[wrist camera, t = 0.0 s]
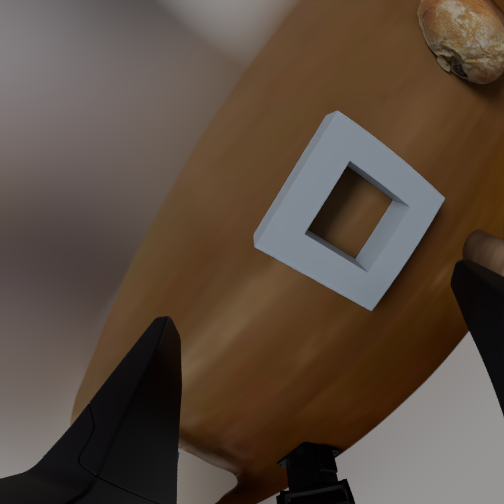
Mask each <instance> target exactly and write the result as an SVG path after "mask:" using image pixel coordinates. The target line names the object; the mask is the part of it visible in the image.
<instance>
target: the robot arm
mask: <svg viewBox="0 0 504 504" xmlns="http://www.w3.org/2000/svg"><path fill="white" fill-rule="evenodd" d="M451 288H452V290H453V293H454V295H455V297H456V300H457V302H458V304H459V307H460V309H461V312H462V315H463V317H464V320H465V322H466V325H467V327H468V329H469V331H470V333H471V335H472V337H473V339H474V341H475V344H476V346H477V348H478V350H479V353H480V355H481V357H482V359H483V362H484V364H485V367H486V369H487V372H488V374H489V376H490V379H491V382H492V384H493V387H494V390H495V392H496V395H497V398H498V401H499V404H500V407H501V410H502V412H503V416H504V276H502V275H500V274H498V273H496V272H494V271H492V270H490V269H488V268H486V267H484V266H482V265H480V264H477V263H475V262H473V261H471V260H469V259H462V260H459V261H457V262H456V264H455V267H454V271H453V274H452V278H451ZM181 395H182V371H181V340H180V335H179V333H178V331H177V329H176V327H175V325H174V323H173V321H172V319H171V318H170V317H169V316H164V317H157V318H156V319H155V320H154V321H153V322H152V323H151V324H150V326H149V327H148V328H147V329H146V331H145V332H144V333H143V334H142V336H141V337H140V338H139V339H138V341H137V342H136V343H135V344H134V346H133V347H132V348H131V349H130V351H129V352H128V353H127V354H126V356H125V357H124V358H123V359H122V361H121V362H120V363H119V365H118V366H117V367H116V368H115V370H114V371H113V372H112V374H111V375H110V376H109V377H108V379H107V380H106V381H105V383H104V384H103V385H102V386H101V388H100V389H99V390H98V392H97V393H96V394H95V396H94V397H93V398H92V400H91V401H90V404H88V405H87V406H86V407H85V409H84V410H83V411H82V413H81V414H80V415H79V416H78V418H77V419H76V420H75V421H74V423H73V424H72V425H71V426H70V428H69V429H68V430H67V431H66V432H65V433H64V434H63V436H62V437H61V438H60V439H59V440H58V441H57V442H56V443H55V445H54V446H53V447H52V448H51V449H50V450H49V451H48V452H47V453H46V455H45V456H44V457H43V458H42V459H41V460H40V461H39V462H38V463H37V464H36V465H35V466H34V467H32V468H31V469H29V470H28V471H26V472H23V473H20V474H17V475H13V476H9V477H5V478H1V479H0V504H177V503H176V502H177V463H178V442H179V424H180V408H181ZM338 453H339V450H338V449H335V448H330V447H324V446H319V445H315V444H310V443H302V444H300V445H299V446H298V447H297V448H295V449H294V450H293V451H292V452H290V453H289V454H288V455H287V456H285V457H284V458H283V459H281V460H280V461H279V462H277V466H279V467H284V468H287V477H288V485H289V491H280V495H278V496H276V499H277V504H355V501H354V498H353V495H352V492H351V490H350V487H349V484H348V481H347V479H343V480H341V481H338V478H337V474H336V473H337V466H336V462H335V458H334V456H335V455H337V454H338Z"/></svg>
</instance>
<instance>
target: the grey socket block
mask: <svg viewBox="0 0 504 504" xmlns="http://www.w3.org/2000/svg"><path fill="white" fill-rule="evenodd" d="M346 166H348V167H349V168H351V169H352V170H353V171H355V172H356V173H358V174H359V175H360V176H362V177H363V178H365V179H366V180H367V181H369V182H370V183H371V184H373V185H374V186H375V187H377V188H378V189H379V190H381V191H382V192H383V193H384V194H386V195H387V196H388V197H390V198H391V199H392V200H393V201H392V202H391V204H390V206H389V207H388V209H387V210H386V212H385V214H384V215H383V217H382V219H381V220H380V222H379V223H378V225H377V226H376V228H375V230H374V231H373V233H372V234H371V236H370V237H369V239H368V240H367V242H366V243H365V245H364V247H363V248H362V250H361V251H360V253H359V254H358V256H357V257H356V259H354V258H353V257H351V256H349V255H348V254H346V253H345V252H343V251H341V250H340V249H338V248H336V247H335V246H333V245H332V244H330V243H328V242H327V241H325V240H323V239H322V238H320V237H319V236H317V235H315V234H314V233H312V232H310V231H309V230H307V229H308V227H309V226H310V224H311V223H312V221H313V219H314V218H315V216H316V215H317V213H318V212H319V210H320V208H321V207H322V205H323V204H324V202H325V200H326V199H327V197H328V196H329V194H330V192H331V191H332V189H333V187H334V186H335V184H336V183H337V181H338V179H339V178H340V176H341V174H342V173H343V171H344V169H345V168H346ZM444 199H445V198H444V197H443V196H442V195H441V194H440V193H439V192H438V191H437V190H436V189H435V188H434V187H433V186H432V185H431V184H429V183H428V182H427V181H426V180H425V179H424V178H423V177H422V176H421V175H420V174H418V173H417V172H416V171H415V170H414V169H413V168H412V167H411V166H409V165H408V164H407V163H406V162H405V161H404V160H402V159H401V158H400V157H399V156H398V155H396V154H395V153H394V152H393V151H392V150H390V149H389V148H388V147H387V146H385V145H384V144H383V143H381V142H380V141H379V140H378V139H376V138H375V137H374V136H372V135H371V134H370V133H368V132H367V131H366V130H364V129H363V128H362V127H360V126H359V125H358V124H356V123H355V122H354V121H352V120H351V119H349V118H348V117H346V116H345V115H344V114H342V113H341V112H339V111H335V112H333V113H330V114H328V115H326V116H325V118H324V120H323V121H322V123H321V125H320V126H319V128H318V129H317V131H316V133H315V134H314V136H313V138H312V139H311V141H310V143H309V144H308V146H307V147H306V149H305V151H304V152H303V154H302V156H301V157H300V159H299V161H298V162H297V164H296V165H295V167H294V169H293V170H292V172H291V174H290V175H289V177H288V179H287V180H286V182H285V183H284V185H283V187H282V188H281V190H280V192H279V193H278V195H277V197H276V198H275V200H274V202H273V203H272V205H271V207H270V208H269V210H268V212H267V213H266V215H265V216H264V218H263V220H262V221H261V223H260V225H259V226H258V228H257V230H256V231H255V233H254V235H253V237H254V247H256V248H257V249H259V250H261V251H263V252H265V253H267V254H268V255H270V256H272V257H274V258H276V259H278V260H279V261H281V262H283V263H285V264H287V265H288V266H290V267H292V268H294V269H296V270H298V271H299V272H301V273H303V274H305V275H307V276H308V277H310V278H312V279H314V280H316V281H318V282H319V283H321V284H323V285H325V286H327V287H328V288H330V289H332V290H334V291H336V292H338V293H339V294H341V295H343V296H345V297H347V298H348V299H350V300H352V301H354V302H356V303H357V304H359V305H361V306H363V307H365V308H366V309H368V310H370V311H372V310H373V308H374V307H375V306H376V304H377V303H378V302H379V300H380V299H381V298H382V296H383V295H384V293H385V292H386V291H387V289H388V288H389V286H390V285H391V284H392V282H393V281H394V279H395V278H396V277H397V275H398V274H399V272H400V271H401V269H402V268H403V266H404V265H405V263H406V262H407V260H408V259H409V257H410V256H411V254H412V253H413V251H414V250H415V248H416V246H417V245H418V243H419V242H420V240H421V238H422V237H423V235H424V234H425V232H426V230H427V229H428V227H429V225H430V224H431V222H432V220H433V219H434V217H435V215H436V213H437V212H438V210H439V208H440V206H441V205H442V203H443V201H444Z"/></svg>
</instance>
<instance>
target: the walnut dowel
mask: <svg viewBox="0 0 504 504" xmlns="http://www.w3.org/2000/svg"><path fill="white" fill-rule="evenodd" d="M463 259H469V260H471V261H473V262H475V263H477V264H480V265H482V266H484V267H486V268H488V269H490V270H492V271H494V272H496V273H498V274H500V275H502V276H504V241H503V240H500V239H498V238H496V237H494V236H492V235H490V234H488V233H486V232H484V231H481V230H476V231H474V232H472V233H471V234H470V235H469V236H468V238H467V240H466V242H465V244H464V248H463Z"/></svg>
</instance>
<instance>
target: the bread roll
mask: <svg viewBox="0 0 504 504" xmlns="http://www.w3.org/2000/svg"><path fill="white" fill-rule="evenodd" d="M418 16H419V25H420V27H421V29H422V32H423V35H424V37H425V40H426V42H427V44H428V46H429V48H430V49H431V51H432V52H433V53H434V54H435V55H436V56H437V62H438V64H439V65H440V66H441V67H442V68H443V69H444V70H446V71H448V72H449V73H450V71H452V72H453V73H454V74H456V75H458V76H460V77H461V78H464V79H466V80H468V81H469V82H473V83H476V84H487V83H491V82H493V81H495V80H496V79H498V78H499V77H500V75H501V74H502V73H503V71H504V27H503V25H502V23H501V21H500V20H499V18H498V17H497V15H496V14H495V12H494V11H493V10H492V8H491V7H490V6H489V5H488V4H487V3H486V2H485V1H483V0H421V2H420V5H419V8H418Z"/></svg>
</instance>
